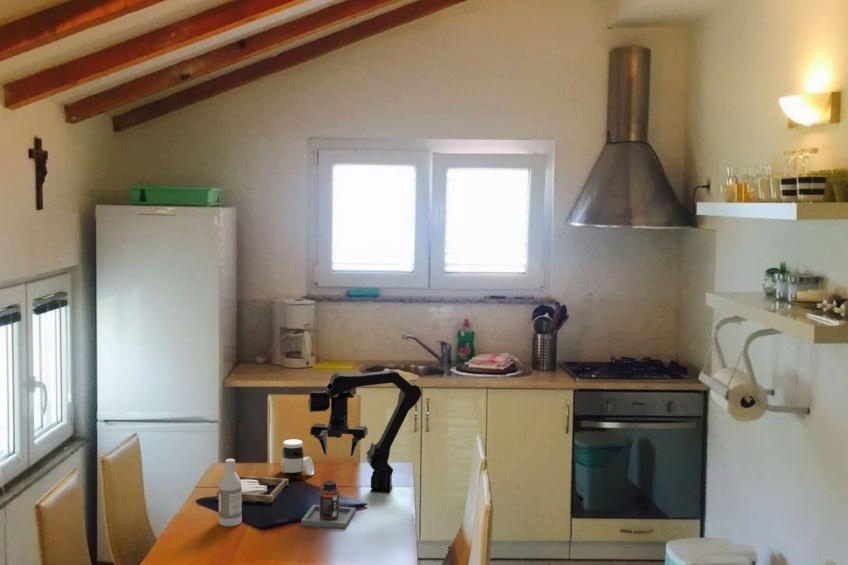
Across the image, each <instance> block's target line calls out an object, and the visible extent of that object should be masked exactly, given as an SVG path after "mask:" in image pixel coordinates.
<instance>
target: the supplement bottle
mask: <svg viewBox="0 0 848 565" xmlns="http://www.w3.org/2000/svg"><path fill="white" fill-rule="evenodd" d="M322 486H323V487H322V488H321V489H320V491H319V505H320V517H321V518H322V519H324V520H334V519H336V518H338V516H339V507H340V490H339V489H338V488H337V481H335V480H325V481H324V482H323V484H322Z"/></svg>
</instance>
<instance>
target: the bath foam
mask: <svg viewBox="0 0 848 565" xmlns="http://www.w3.org/2000/svg"><path fill="white" fill-rule="evenodd" d="M224 462H225V464H224V465H225V471H224V472H223V474H222V476H221V478H220V480H219V483H218V491H219V500H218V524H219V525H220V526H223V527H235V526H238V525H240V524H241V523H242V520H243V519H242V516H243V515H242V512H243V511H242V510H243V509H242V508H243V507H242V503H243V501H242V484H241V480H240V478H239V476H240V475H238V473H237V472H236V460H235V459H234V458H227V459H225V460H224Z"/></svg>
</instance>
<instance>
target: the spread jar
mask: <svg viewBox="0 0 848 565" xmlns="http://www.w3.org/2000/svg"><path fill="white" fill-rule="evenodd" d="M282 443H283V447H282V448H281V449H282V450H281V472H282V474H283V475H284V476H287V477H297V476H301V475H302V474H303V473H304V472H305V474H306V475H307V476H308V477H309V476H313V475H314V473H315V467H314V466H315V465H314V462H313V460H312V458H311V456H305V453H304V452H305V451H304V448H303V441H302V440H301V439H297V438H296V439H294V438H293V439H286V440H284V441H283V442H282Z"/></svg>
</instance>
